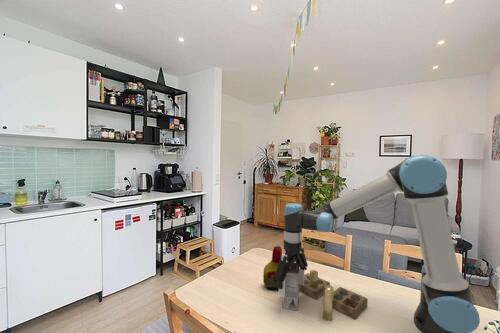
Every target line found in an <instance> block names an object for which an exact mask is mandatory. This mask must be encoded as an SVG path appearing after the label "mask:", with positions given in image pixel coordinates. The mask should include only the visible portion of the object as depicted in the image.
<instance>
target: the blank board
mask: <svg viewBox="0 0 500 333" xmlns="http://www.w3.org/2000/svg"><path fill="white" fill-rule="evenodd" d="M367 307H368V298H367V297H365V296H363V295H360V294H359V293H357V292H353V291H351V290H349V289H347V288H345V287H342V286H339V287H337V289H335V290H333V310H335V311H337V312H339V313H342V314H343V315H345V316H347V317H349V318H351V319H354V320H356V319H357V318H358V317H359V316H360V315H361V314H362V313H363V311H365V309H366V308H367Z"/></svg>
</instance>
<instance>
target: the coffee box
mask: <svg viewBox="0 0 500 333" xmlns="http://www.w3.org/2000/svg"><path fill="white" fill-rule="evenodd" d="M286 262H287V261H286ZM287 263H288V262H287ZM299 268H300V267H299V263H296V262H294V263H293V264H292V265H291V266H290V267H289V269H288V271H287V274H286V276H285V279H284V281H285V297H282V309H284V310H293V311H299V293H300V291H299Z"/></svg>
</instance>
